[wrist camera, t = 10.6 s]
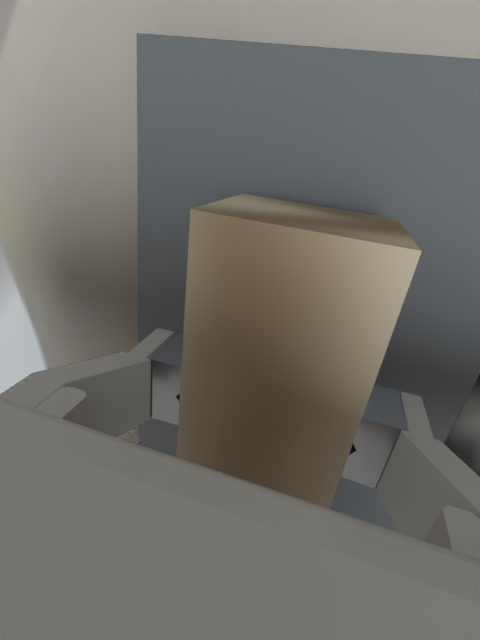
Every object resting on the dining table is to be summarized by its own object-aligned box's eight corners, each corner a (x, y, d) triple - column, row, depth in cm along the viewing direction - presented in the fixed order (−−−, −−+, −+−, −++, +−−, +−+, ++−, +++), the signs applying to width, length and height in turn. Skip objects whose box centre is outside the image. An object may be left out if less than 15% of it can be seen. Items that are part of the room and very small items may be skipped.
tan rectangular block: (398, 219, 9) (422, 251, 6) (318, 473, 13) (306, 574, 10) (242, 193, 10) (190, 209, 6) (213, 440, 14) (171, 522, 10)
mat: (396, 520, 15) (398, 533, 15) (145, 437, 18) (139, 445, 17) (617, 76, 8) (636, 70, 8) (148, 39, 11) (137, 33, 10)
